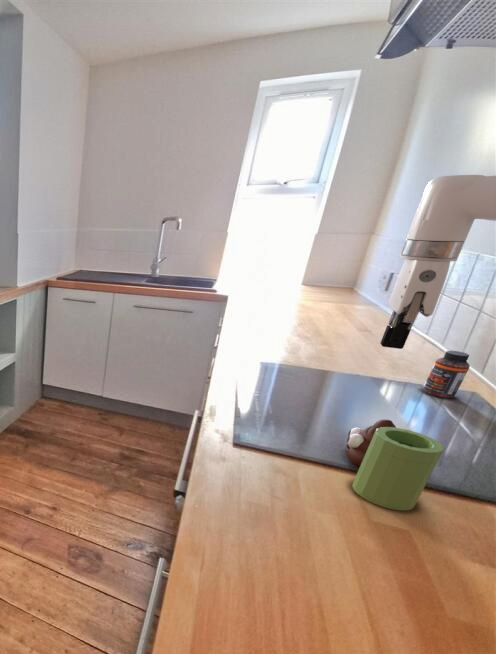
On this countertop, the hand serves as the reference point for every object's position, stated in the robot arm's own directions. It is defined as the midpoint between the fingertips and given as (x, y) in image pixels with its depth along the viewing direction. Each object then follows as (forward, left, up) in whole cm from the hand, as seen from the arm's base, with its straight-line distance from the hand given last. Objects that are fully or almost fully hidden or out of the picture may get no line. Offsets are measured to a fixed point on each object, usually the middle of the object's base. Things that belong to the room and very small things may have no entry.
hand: (391, 346), depth 82 cm
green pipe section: (+20, +17, -19) cm, 32 cm away
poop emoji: (+11, +9, -19) cm, 24 cm away
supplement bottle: (-40, -7, -19) cm, 45 cm away
